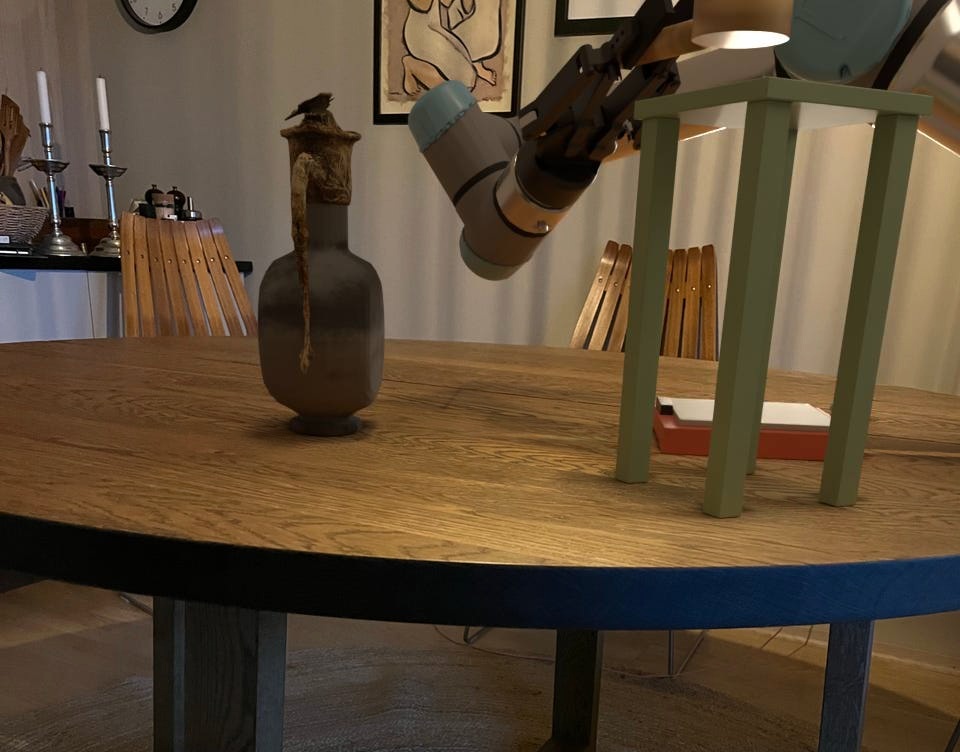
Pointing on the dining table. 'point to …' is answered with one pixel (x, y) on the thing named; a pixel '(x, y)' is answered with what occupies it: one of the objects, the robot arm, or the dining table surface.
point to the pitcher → (321, 289)
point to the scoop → (724, 28)
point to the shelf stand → (764, 269)
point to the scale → (780, 436)
